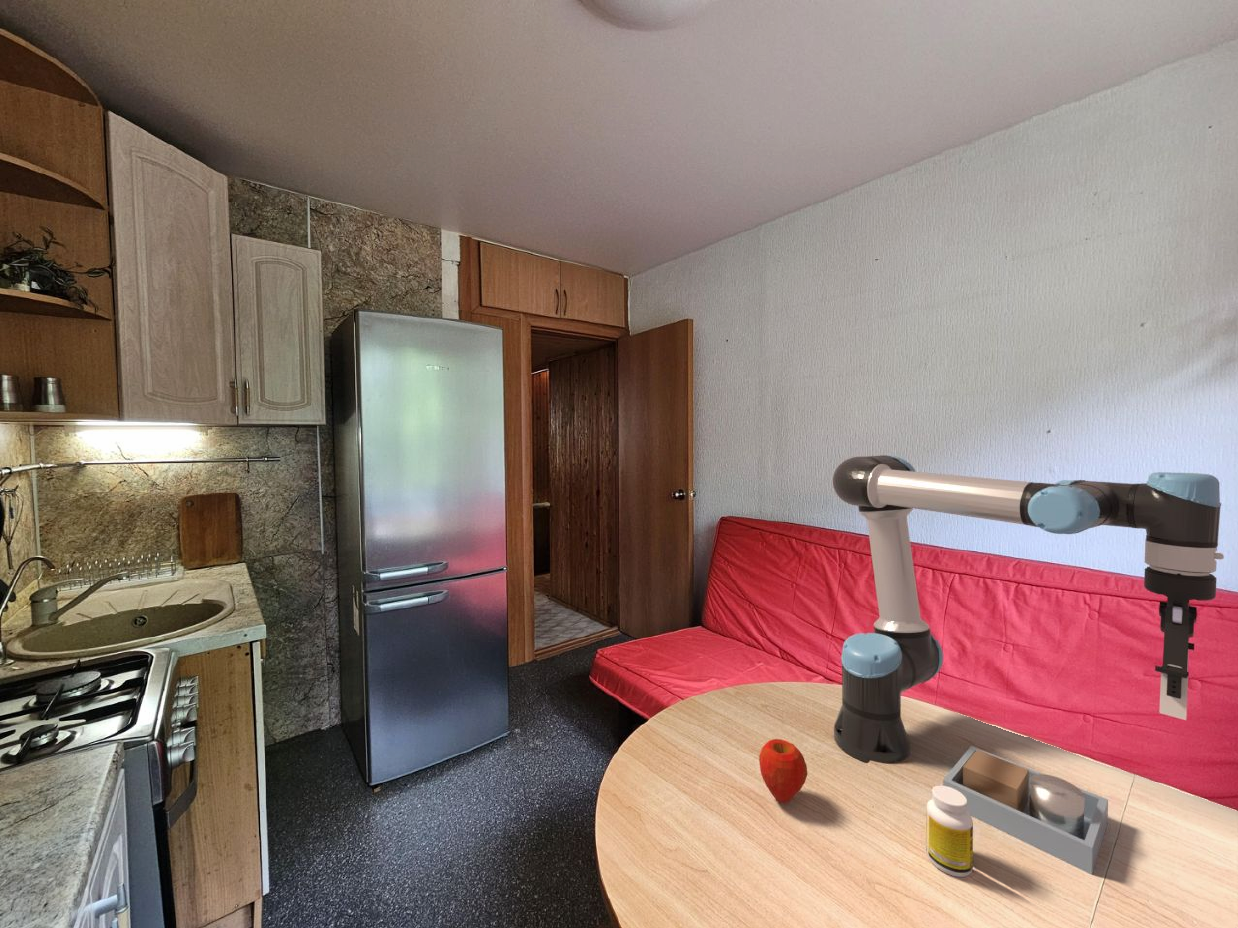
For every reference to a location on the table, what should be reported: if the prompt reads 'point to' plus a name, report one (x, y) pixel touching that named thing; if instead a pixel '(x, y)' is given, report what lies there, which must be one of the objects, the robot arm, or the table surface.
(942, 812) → the pill bottle
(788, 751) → the apple
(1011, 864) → the table surface
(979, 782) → the walnut block
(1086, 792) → the crate
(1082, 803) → the metal tin
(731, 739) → the table surface
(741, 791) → the table surface
